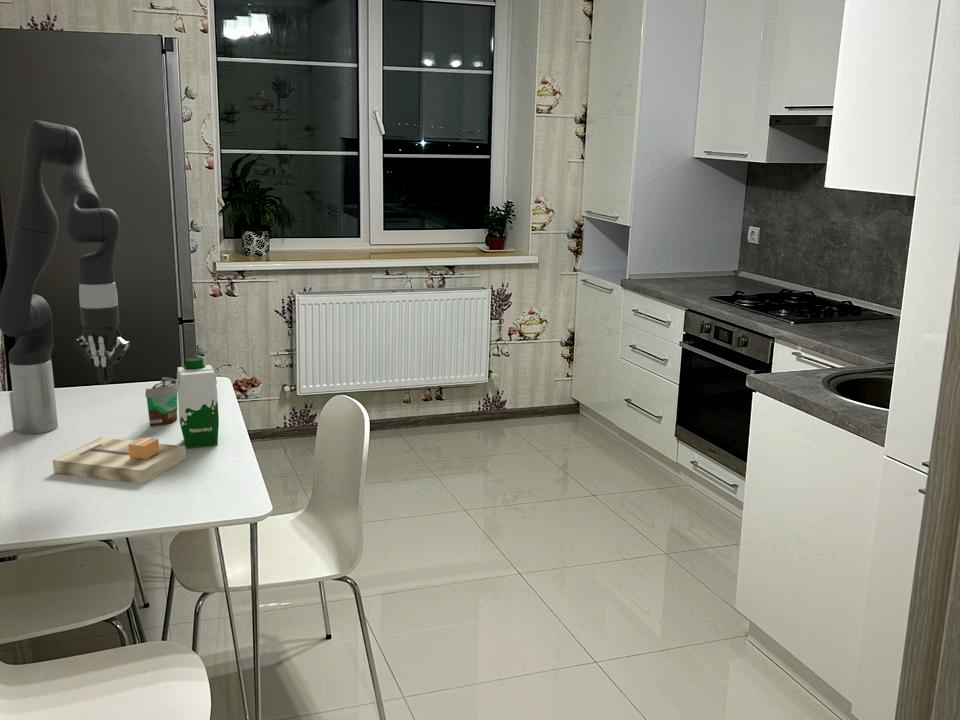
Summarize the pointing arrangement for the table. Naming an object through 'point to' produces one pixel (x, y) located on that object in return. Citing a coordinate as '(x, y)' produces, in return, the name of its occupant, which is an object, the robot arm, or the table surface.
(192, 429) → the milk carton
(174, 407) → the food container
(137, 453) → the fader knob
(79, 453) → the fader console
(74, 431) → the table surface
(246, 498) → the table surface
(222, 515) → the table surface
